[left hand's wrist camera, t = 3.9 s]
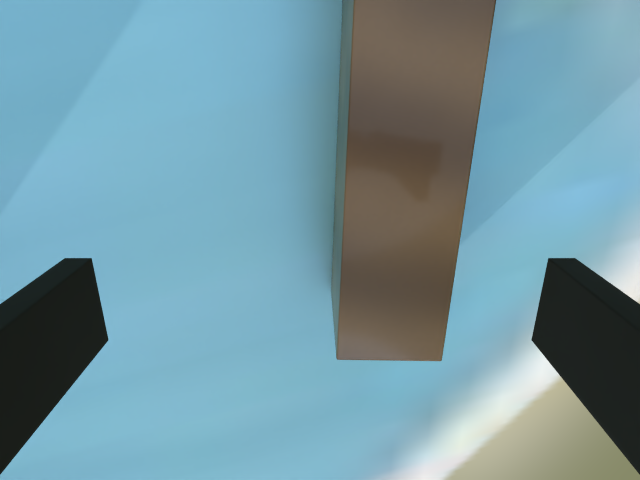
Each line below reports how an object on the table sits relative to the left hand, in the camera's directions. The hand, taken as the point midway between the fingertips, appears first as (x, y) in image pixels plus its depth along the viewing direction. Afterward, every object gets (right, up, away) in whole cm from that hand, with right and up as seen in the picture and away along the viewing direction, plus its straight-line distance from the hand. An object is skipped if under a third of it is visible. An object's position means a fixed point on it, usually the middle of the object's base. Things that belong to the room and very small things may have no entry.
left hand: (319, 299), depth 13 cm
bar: (+5, +35, +4) cm, 35 cm away
